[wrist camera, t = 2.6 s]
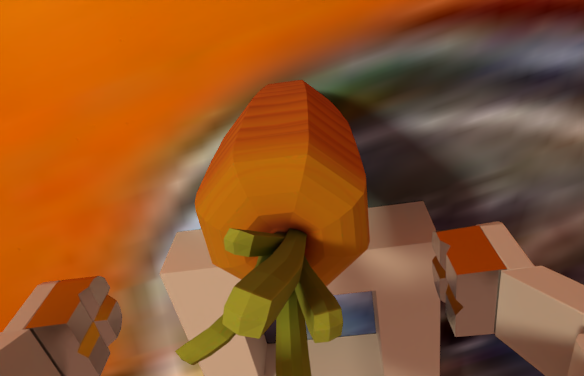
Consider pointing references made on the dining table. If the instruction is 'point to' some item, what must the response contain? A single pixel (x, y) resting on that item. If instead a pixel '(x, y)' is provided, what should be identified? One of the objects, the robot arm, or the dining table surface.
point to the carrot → (282, 222)
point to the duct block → (356, 278)
